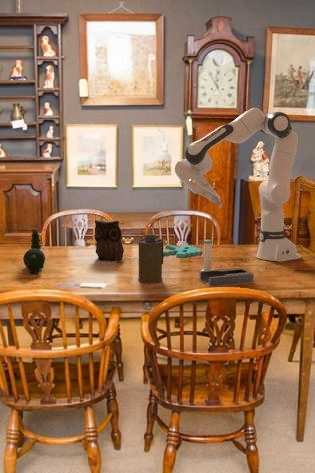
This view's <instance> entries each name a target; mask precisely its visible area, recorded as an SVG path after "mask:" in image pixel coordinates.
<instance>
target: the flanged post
mask: <svg viewBox="0 0 315 473" xmlns="http://www.w3.org/2000/svg"><path fill="white" fill-rule="evenodd" d="M212 245H213V240H212V239H204V240H203V268H202V269H201V270H200V271H207V270H213V269H212V256H213V255H212V254H213V253H212V251H213V250H212V249H213V246H212Z"/></svg>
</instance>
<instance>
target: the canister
mask: <svg viewBox="0 0 315 473" xmlns="http://www.w3.org/2000/svg"><path fill="white" fill-rule="evenodd" d="M143 237H144V238H141V239H139V240H137V243H138V278H137V281H139V282H140V283H142V284H150V283H152V284H159V283H162V281H163V265H164V256H163V252H164V239H163V238H157V237H156V235H155V234H153V233H148V234H144V235H143Z"/></svg>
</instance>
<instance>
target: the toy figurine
mask: <svg viewBox="0 0 315 473" xmlns="http://www.w3.org/2000/svg"><path fill="white" fill-rule="evenodd" d="M31 232H32V233H31V240H30V242H31V245H30V249H27V251H26V252H25V253H24V255H23V258H22V259H23V263H24V266H25V267H26V269H27V270H29V273H31V274H32V275H35V274H38V273H39V272H40V269H41V270H42V269H44V267H45V266H44V264H45V261H46V256H45V253H44V252H43V251H42V250H41V248H42V245H41V244H40V242H41V239H40V238H39V237H40V234H39V233H38V229H37V228H33V229H32V230H31Z"/></svg>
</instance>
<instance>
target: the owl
mask: <svg viewBox="0 0 315 473" xmlns="http://www.w3.org/2000/svg"><path fill="white" fill-rule="evenodd" d="M119 223H120V221H119V220H105V219H104V220H97V219H94V224H95V227H94V240H95V243H96V245H95V254H96V255H97V260H98V261H100V262H110V263H111V262H123V258H124V252H125V249H124V245H123V242H122V238H123V236H122V235H123V234H122V229H121V228H120V227H121V226H120V224H119Z"/></svg>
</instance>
